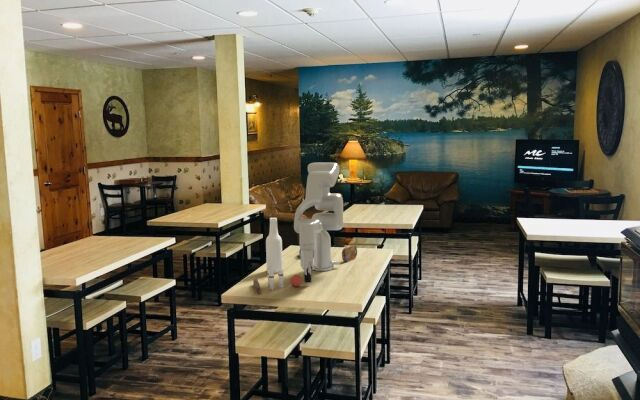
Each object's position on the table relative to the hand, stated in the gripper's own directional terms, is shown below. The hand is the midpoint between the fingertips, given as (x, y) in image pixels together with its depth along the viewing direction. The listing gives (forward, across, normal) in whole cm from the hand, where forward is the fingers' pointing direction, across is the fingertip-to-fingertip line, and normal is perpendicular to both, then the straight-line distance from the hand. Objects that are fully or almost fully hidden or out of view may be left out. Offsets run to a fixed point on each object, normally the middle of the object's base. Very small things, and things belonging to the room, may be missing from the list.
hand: (307, 282), depth 269 cm
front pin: (+2, 0, -14) cm, 14 cm away
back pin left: (+2, +2, -19) cm, 19 cm away
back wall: (+2, -1, -26) cm, 26 cm away
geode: (+2, -65, +16) cm, 67 cm away
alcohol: (+2, -31, -12) cm, 34 cm away
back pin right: (+2, -3, -18) cm, 19 cm away
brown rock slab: (+2, -45, +35) cm, 57 cm away
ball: (-1, 0, -6) cm, 6 cm away
